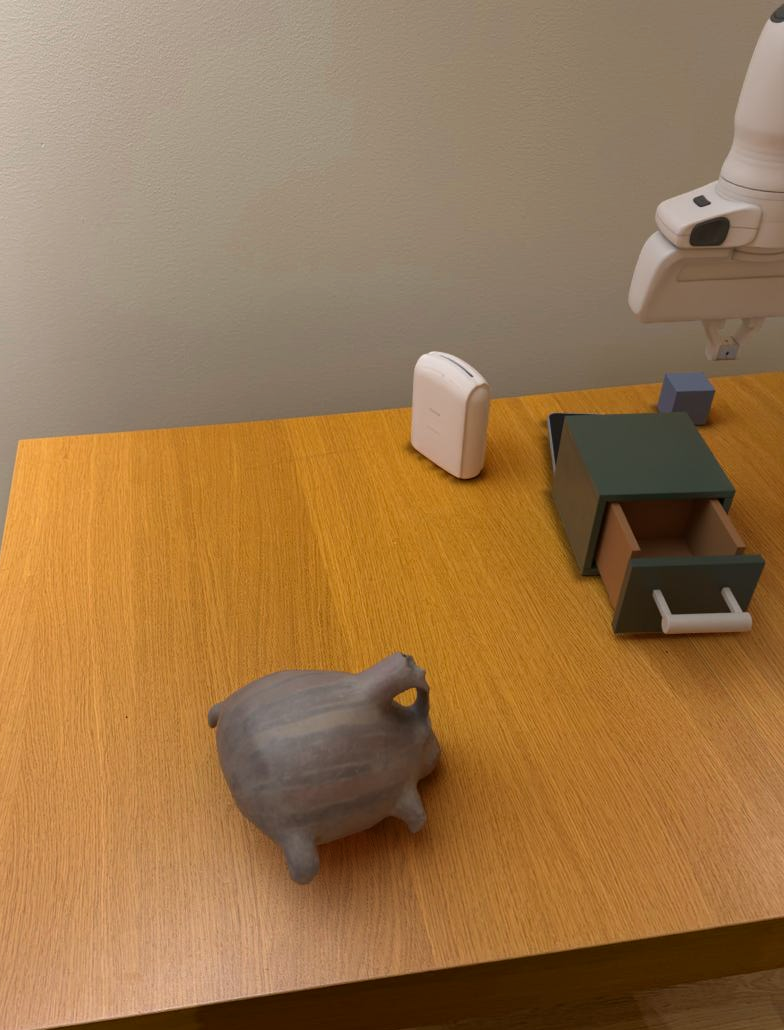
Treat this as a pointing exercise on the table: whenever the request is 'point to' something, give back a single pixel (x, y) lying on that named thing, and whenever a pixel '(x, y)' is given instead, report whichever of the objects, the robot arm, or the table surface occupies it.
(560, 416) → the smartphone
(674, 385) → the block
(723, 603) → the drawer
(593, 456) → the cabinet
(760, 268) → the robot arm
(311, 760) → the piggy bank
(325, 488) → the table surface
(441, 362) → the photo printer
